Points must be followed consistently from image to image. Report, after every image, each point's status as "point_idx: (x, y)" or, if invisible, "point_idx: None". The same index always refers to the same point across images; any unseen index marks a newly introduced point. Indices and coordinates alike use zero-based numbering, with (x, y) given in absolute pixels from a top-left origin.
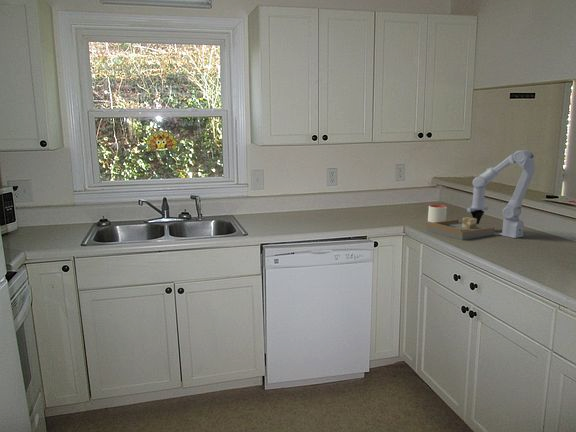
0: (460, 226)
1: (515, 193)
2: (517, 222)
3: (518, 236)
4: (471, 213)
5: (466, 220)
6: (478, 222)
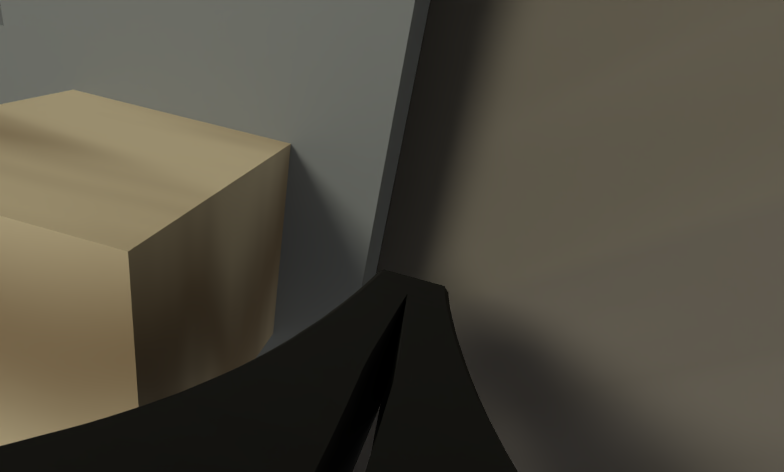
0: (87, 19)
1: None
2: None
3: None
4: (80, 440)
5: None
6: (381, 402)
